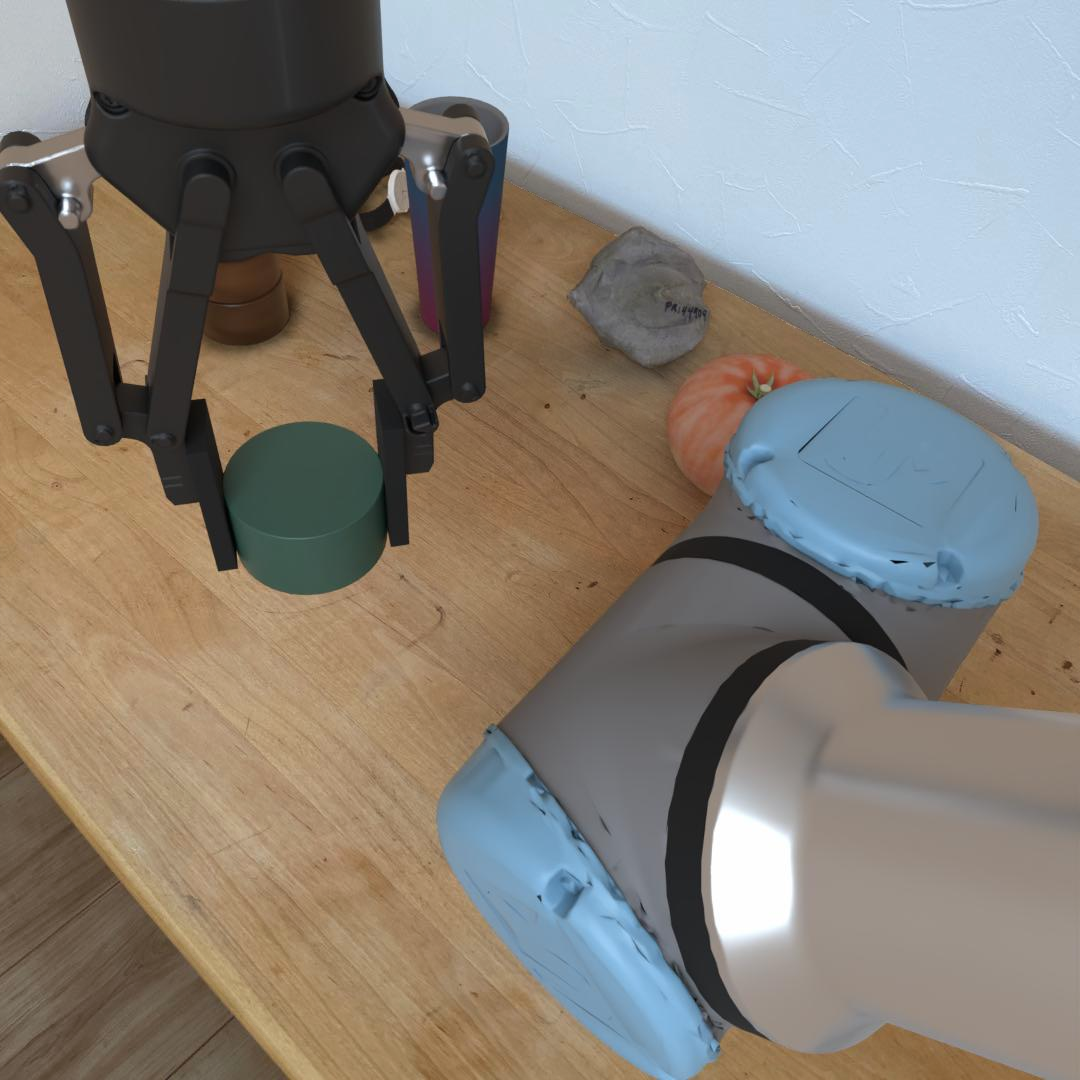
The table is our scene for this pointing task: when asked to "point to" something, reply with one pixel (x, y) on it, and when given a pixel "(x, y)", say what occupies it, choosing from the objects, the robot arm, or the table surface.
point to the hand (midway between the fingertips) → (312, 531)
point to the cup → (487, 220)
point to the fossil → (644, 298)
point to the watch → (389, 199)
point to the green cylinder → (306, 507)
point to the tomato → (720, 410)
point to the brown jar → (247, 301)
